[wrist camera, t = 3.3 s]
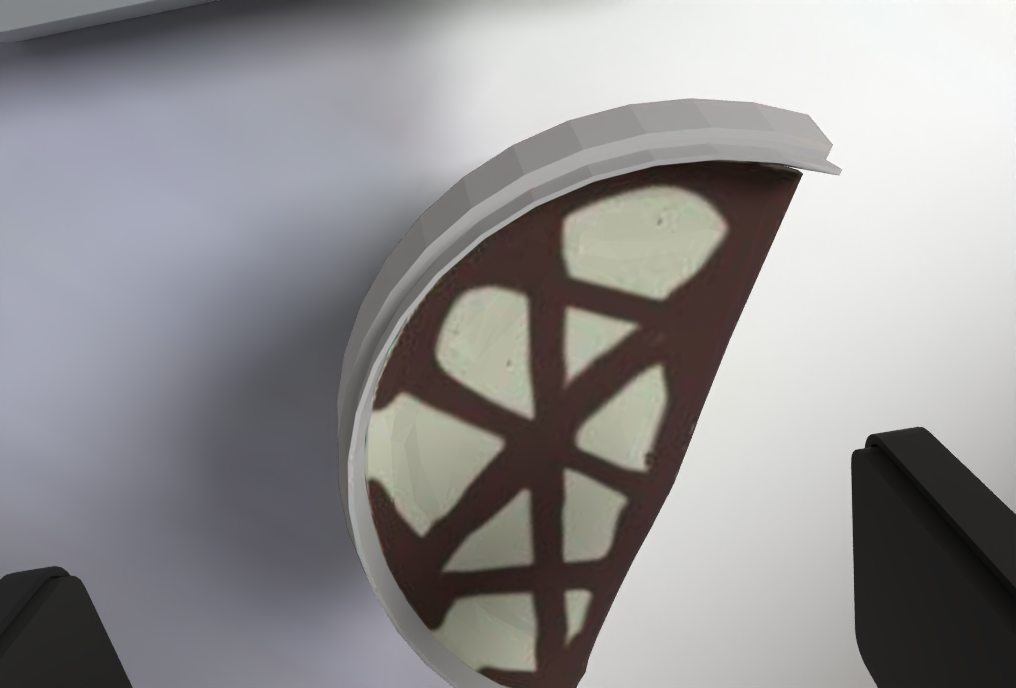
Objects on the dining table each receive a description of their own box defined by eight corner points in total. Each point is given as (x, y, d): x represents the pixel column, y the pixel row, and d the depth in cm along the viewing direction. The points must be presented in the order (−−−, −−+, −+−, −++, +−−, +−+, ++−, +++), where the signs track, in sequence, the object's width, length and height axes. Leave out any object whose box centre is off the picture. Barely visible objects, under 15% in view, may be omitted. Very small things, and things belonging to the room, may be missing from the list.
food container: (464, 2, 19) (418, -15, 10) (699, 80, 20) (860, 131, 11) (352, 430, 24) (249, 692, 15) (548, 483, 24) (568, 765, 15)
